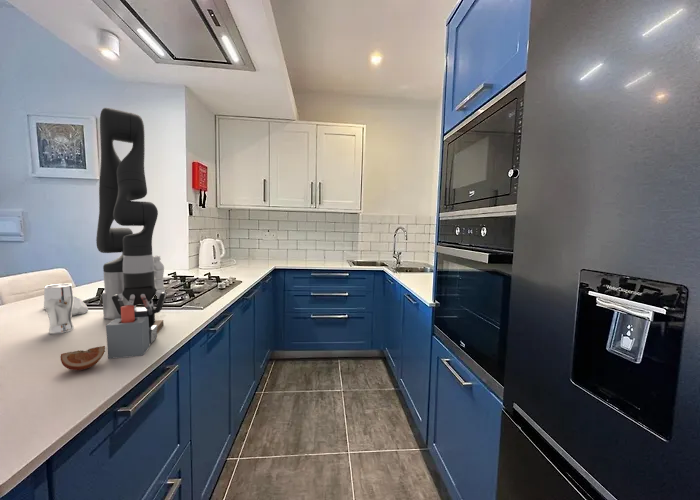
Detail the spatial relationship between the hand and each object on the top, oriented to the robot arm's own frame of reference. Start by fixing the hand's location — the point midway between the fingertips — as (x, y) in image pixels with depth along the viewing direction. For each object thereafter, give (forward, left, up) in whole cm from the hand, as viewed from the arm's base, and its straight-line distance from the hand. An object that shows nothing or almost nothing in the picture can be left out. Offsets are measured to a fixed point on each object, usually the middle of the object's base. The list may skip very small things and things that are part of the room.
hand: (141, 327), depth 94 cm
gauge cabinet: (-1, -7, -5) cm, 9 cm away
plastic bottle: (-10, +56, -5) cm, 57 cm away
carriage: (0, 0, -5) cm, 5 cm away
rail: (0, +6, -5) cm, 8 cm away
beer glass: (-28, +18, -5) cm, 34 cm away
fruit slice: (-8, -15, -5) cm, 18 cm away
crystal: (-39, +45, -5) cm, 60 cm away
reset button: (-1, -7, +1) cm, 7 cm away
